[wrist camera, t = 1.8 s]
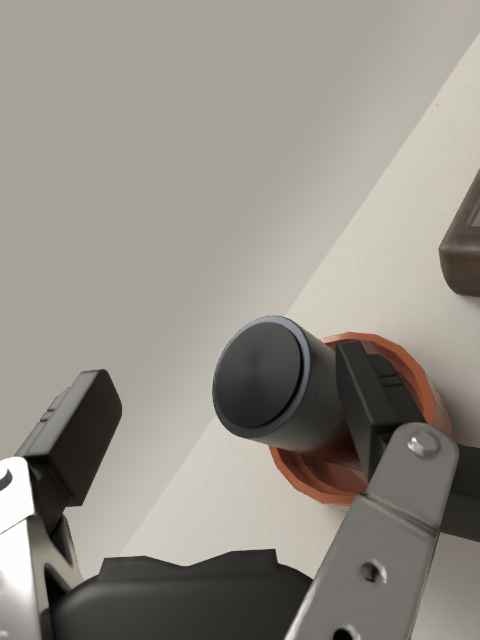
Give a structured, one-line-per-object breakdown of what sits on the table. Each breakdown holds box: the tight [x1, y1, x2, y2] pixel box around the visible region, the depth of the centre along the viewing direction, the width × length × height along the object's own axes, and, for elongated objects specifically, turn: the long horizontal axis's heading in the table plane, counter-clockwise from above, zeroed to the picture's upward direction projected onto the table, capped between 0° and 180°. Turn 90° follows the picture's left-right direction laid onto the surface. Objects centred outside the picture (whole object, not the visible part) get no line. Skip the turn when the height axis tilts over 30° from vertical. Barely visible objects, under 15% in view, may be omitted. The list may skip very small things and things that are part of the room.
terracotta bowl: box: [268, 332, 452, 512], centre depth 21 cm, size 10×10×4 cm
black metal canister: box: [212, 316, 363, 471], centre depth 18 cm, size 6×6×11 cm
